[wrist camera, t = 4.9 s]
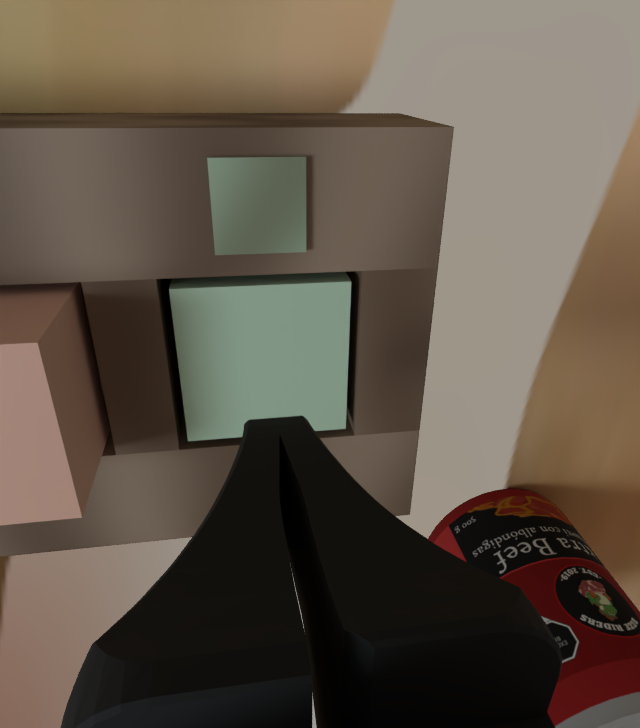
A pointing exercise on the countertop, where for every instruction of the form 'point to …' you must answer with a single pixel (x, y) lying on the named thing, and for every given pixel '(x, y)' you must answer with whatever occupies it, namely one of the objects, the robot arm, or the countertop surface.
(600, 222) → the countertop surface
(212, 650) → the robot arm
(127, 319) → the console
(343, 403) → the key green
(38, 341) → the key terracotta
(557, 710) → the canned food
